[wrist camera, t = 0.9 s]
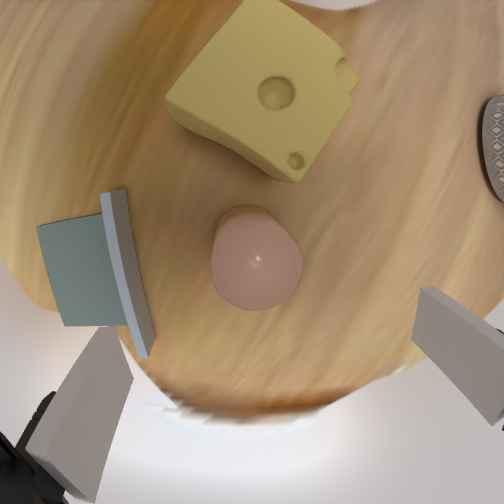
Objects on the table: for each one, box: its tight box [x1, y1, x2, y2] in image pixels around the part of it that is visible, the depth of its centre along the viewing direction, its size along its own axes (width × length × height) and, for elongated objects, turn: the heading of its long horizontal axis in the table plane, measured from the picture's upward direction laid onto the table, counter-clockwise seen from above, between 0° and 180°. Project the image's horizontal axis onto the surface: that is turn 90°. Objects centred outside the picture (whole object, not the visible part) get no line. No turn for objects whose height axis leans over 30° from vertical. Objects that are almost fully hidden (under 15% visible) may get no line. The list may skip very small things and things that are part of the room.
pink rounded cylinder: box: [211, 205, 303, 310], centre depth 23 cm, size 6×6×9 cm
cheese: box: [165, 0, 360, 183], centre depth 19 cm, size 10×11×10 cm
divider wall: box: [100, 188, 156, 358], centre depth 25 cm, size 16×1×4 cm, turn 5°
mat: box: [37, 213, 128, 326], centre depth 26 cm, size 12×9×1 cm
